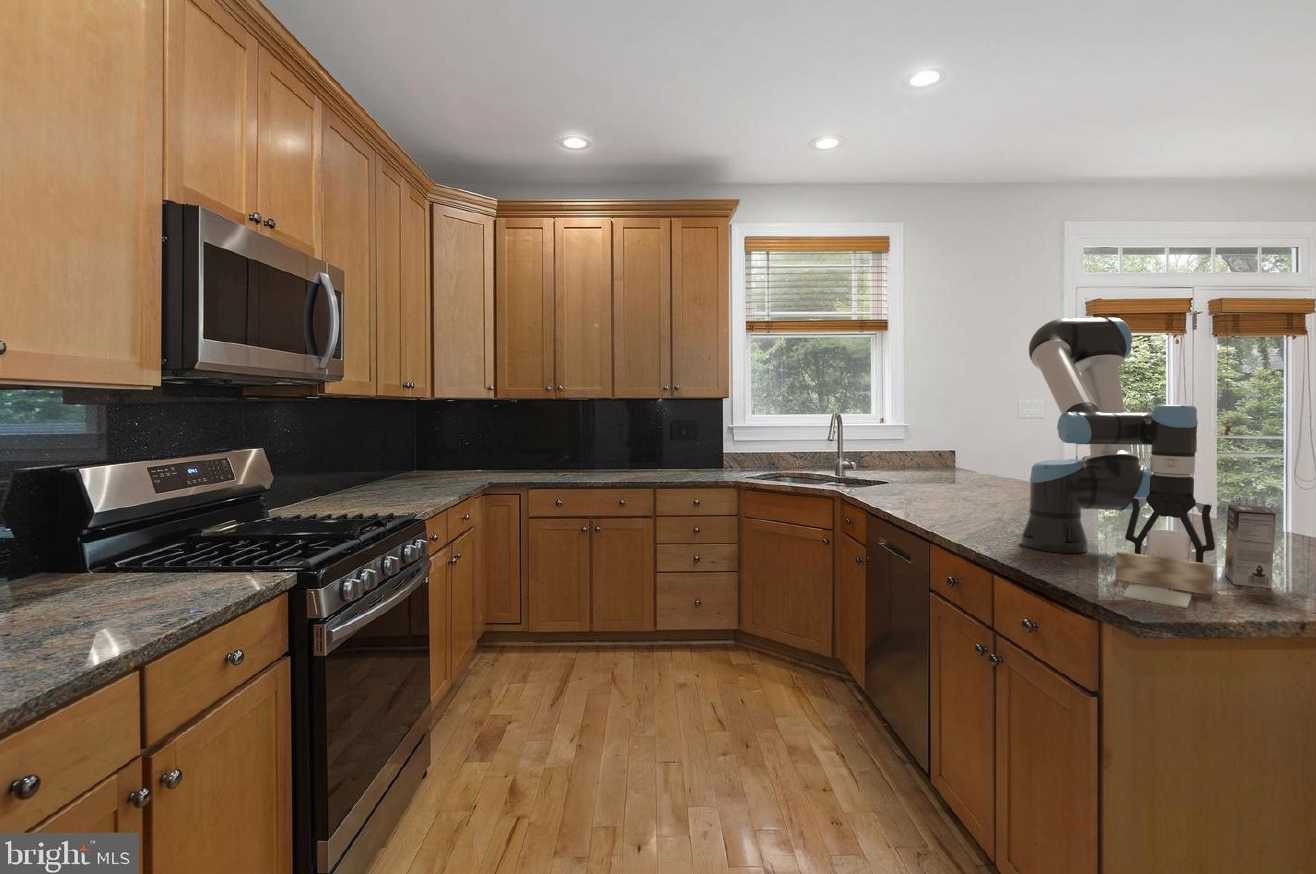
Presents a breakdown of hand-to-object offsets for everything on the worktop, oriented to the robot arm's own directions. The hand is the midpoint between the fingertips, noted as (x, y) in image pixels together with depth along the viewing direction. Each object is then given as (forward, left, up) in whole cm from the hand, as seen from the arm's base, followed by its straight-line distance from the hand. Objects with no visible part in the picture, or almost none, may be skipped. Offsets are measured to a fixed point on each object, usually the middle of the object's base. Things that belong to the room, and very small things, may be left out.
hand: (1167, 576), depth 140 cm
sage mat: (0, -18, 0) cm, 18 cm away
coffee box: (+13, +8, 0) cm, 15 cm away
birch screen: (0, -9, 0) cm, 9 cm away
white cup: (0, 0, 0) cm, 0 cm away
